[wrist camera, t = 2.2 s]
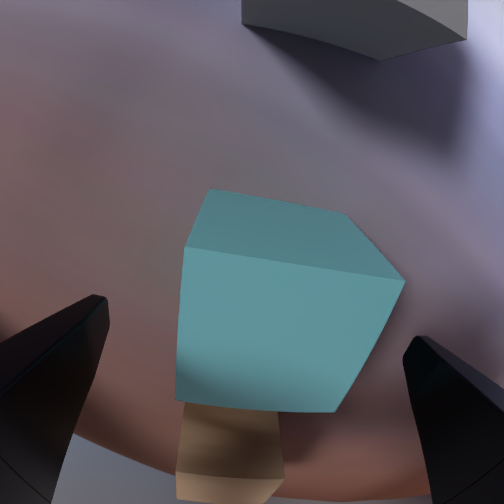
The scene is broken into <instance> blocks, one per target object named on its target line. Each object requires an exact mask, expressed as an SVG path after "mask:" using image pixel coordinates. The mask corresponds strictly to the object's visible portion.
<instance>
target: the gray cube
mask: <svg viewBox="0 0 504 504" xmlns="http://www.w3.org/2000/svg"><path fill="white" fill-rule="evenodd" d="M242 24H246V25H252V26H258V27H263V28H269V29H274V30H279V31H283V32H288V33H292V34H296V35H300V36H304V37H308V38H312V39H316V40H319V41H323V42H326V43H329V44H333V45H336V46H339V47H342V48H345V49H348V50H351V51H354V52H357V53H360V54H363V55H365V56H368V57H371V58H373V59H376V60H378V61H384V60H387V59H390V58H394V57H397V56H400V55H404V54H408V53H411V52H415V51H419V50H423V49H427V48H431V47H435V46H439V45H443V44H448V43H453V42H458V41H463V40H467V25H468V0H242Z"/></svg>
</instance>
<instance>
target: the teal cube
mask: <svg viewBox="0 0 504 504" xmlns="http://www.w3.org/2000/svg"><path fill="white" fill-rule="evenodd" d="M404 283H405V280H404V279H403V278H402V277H401V275H400V274H399V273H398V272H397V271H396V269H395V268H394V267H393V266H392V265H391V264H390V263H389V261H388V260H387V259H386V258H385V257H384V256H383V255H382V254H381V252H380V251H379V250H378V249H377V248H376V247H375V246H374V245H373V244H372V242H371V241H370V240H369V239H368V238H367V237H366V236H365V235H364V234H363V233H362V232H361V231H360V229H359V228H358V227H357V226H356V225H355V224H354V223H353V222H352V221H351V220H350V219H349V218H348V217H347V216H346V215H345V214H342V213H338V212H333V211H328V210H324V209H319V208H314V207H309V206H304V205H299V204H294V203H289V202H284V201H278V200H273V199H268V198H262V197H257V196H251V195H245V194H239V193H234V192H228V191H221V190H215V189H209V191H208V193H207V196H206V198H205V200H204V202H203V205H202V207H201V209H200V212H199V214H198V216H197V219H196V221H195V223H194V226H193V228H192V230H191V233H190V235H189V238H188V240H187V243H186V245H185V250H184V260H183V270H182V281H181V293H180V306H179V320H178V337H177V356H176V383H175V400H178V401H184V402H190V403H197V404H204V405H211V406H219V407H228V408H237V409H248V410H262V411H279V412H335V411H336V409H337V408H338V406H339V405H340V403H341V402H342V400H343V398H344V397H345V395H346V394H347V392H348V390H349V389H350V387H351V385H352V384H353V382H354V381H355V379H356V377H357V375H358V374H359V372H360V370H361V369H362V367H363V365H364V363H365V362H366V360H367V358H368V356H369V354H370V353H371V351H372V349H373V347H374V345H375V343H376V341H377V340H378V338H379V336H380V334H381V332H382V330H383V328H384V326H385V324H386V322H387V320H388V318H389V316H390V314H391V312H392V310H393V307H394V305H395V303H396V301H397V299H398V297H399V295H400V292H401V290H402V288H403V286H404Z"/></svg>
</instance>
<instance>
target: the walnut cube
mask: <svg viewBox="0 0 504 504" xmlns="http://www.w3.org/2000/svg"><path fill="white" fill-rule="evenodd" d="M284 480H285V474H284V464H283V455H282V446H281V437H280V428H279V419H278V411H262V410H248V409H237V408H228V407H219V406H211V405H204V404H197V403H190V402H185V406H184V413H183V420H182V427H181V434H180V441H179V449H178V456H177V464H176V495H177V499H180V500H188V501H196V502H204V503H214V504H264V503H265V502H266V501H267V500H268V498H269V497H270V496H271V495H272V494H273V493H274V492H275V490H276V489H277V488H278V487H279V486H280V485H281V483H282V482H283V481H284Z"/></svg>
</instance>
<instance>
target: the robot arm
mask: <svg viewBox="0 0 504 504" xmlns="http://www.w3.org/2000/svg"><path fill="white" fill-rule="evenodd" d="M109 326H110V319H109V308H108V300H107V298H106V297H104V296H99V295H95V294H92V295H90V296H88V297H86V298H84V299H82V300H80V301H78V302H76V303H74V304H72V305H70V306H68V307H66V308H64V309H63V310H61V311H59V312H57V313H55V314H53V315H51V316H49V317H47V318H45V319H43V320H42V321H40V322H38V323H36V324H34V325H32V326H30V327H28V328H26V329H25V330H23V331H21V332H19V333H17V334H15V335H13V336H12V337H10V338H8V339H6V340H4V341H2V342H1V343H0V504H51V501H52V498H53V495H54V491H55V488H56V484H57V481H58V477H59V474H60V471H61V467H62V464H63V461H64V458H65V455H66V452H67V449H68V446H69V443H70V440H71V437H72V434H73V432H74V429H75V426H76V423H77V421H78V418H79V415H80V412H81V410H82V407H83V405H84V402H85V399H86V397H87V394H88V392H89V389H90V387H91V384H92V382H93V379H94V377H95V374H96V371H97V367H98V364H99V360H100V357H101V353H102V350H103V347H104V344H105V340H106V337H107V334H108V331H109ZM403 366H404V371H405V376H406V381H407V387H408V392H409V397H410V402H411V406H412V410H413V414H414V418H415V421H416V425H417V429H418V433H419V437H420V442H421V446H422V450H423V455H424V459H425V464H426V469H427V474H428V479H429V485H430V490H431V496H432V502H433V504H504V389H503V388H501V387H500V386H499V385H497V384H496V383H494V382H493V381H492V380H490V379H489V378H487V377H486V376H484V375H483V374H482V373H480V372H479V371H477V370H476V369H474V368H473V367H472V366H470V365H469V364H467V363H466V362H464V361H463V360H461V359H460V358H459V357H457V356H456V355H454V354H453V353H451V352H450V351H448V350H447V349H445V348H444V347H442V346H441V345H439V344H438V343H436V342H435V341H434V340H432V339H431V338H429V337H427V336H415V337H414V338H413V340H412V341H411V343H410V345H409V347H408V348H407V350H406V352H405V353H404V355H403Z"/></svg>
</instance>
